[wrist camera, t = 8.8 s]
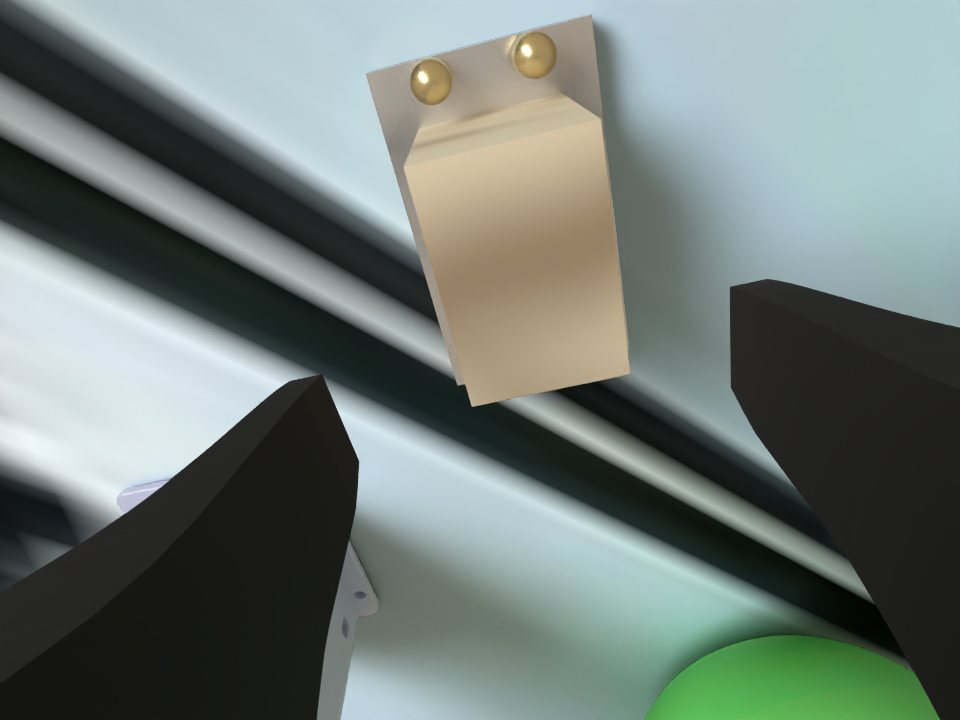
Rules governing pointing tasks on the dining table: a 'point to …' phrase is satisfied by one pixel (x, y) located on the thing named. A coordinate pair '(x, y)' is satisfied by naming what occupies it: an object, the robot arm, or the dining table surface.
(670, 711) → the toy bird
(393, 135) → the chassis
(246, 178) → the dining table surface
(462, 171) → the birch block
